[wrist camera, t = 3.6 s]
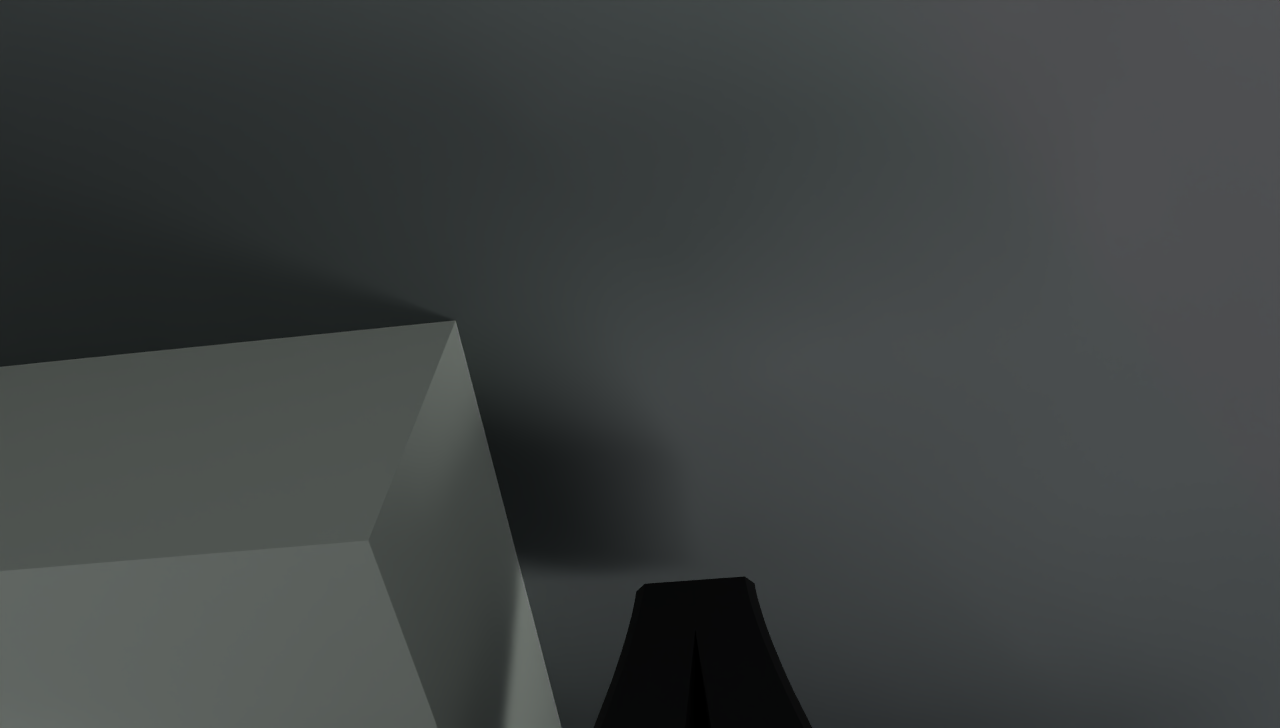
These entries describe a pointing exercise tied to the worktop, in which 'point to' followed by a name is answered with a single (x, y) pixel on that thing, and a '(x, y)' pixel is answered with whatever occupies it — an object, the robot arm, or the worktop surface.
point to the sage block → (260, 541)
